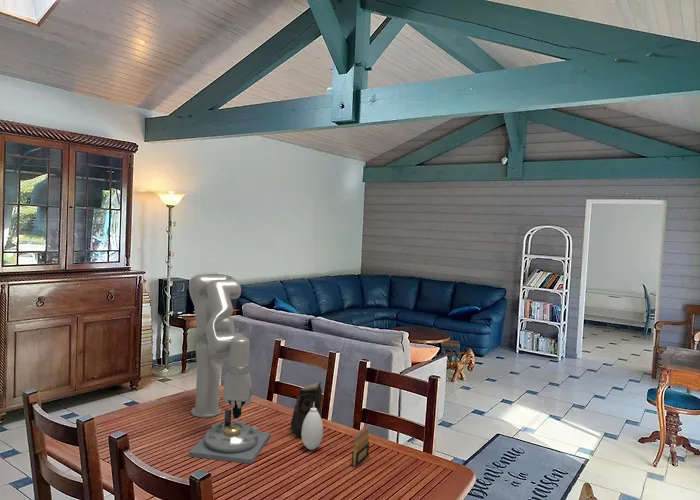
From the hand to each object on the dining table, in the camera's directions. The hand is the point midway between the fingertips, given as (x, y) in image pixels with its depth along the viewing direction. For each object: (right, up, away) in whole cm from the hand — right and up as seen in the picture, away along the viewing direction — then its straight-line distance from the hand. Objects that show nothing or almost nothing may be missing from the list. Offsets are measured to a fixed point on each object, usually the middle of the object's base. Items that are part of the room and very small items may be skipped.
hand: (236, 417), depth 192 cm
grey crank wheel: (0, -7, -6) cm, 9 cm away
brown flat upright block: (+47, -12, -12) cm, 50 cm away
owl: (+25, -10, +11) cm, 29 cm away
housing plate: (0, -9, -6) cm, 11 cm away
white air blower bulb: (+29, -11, -4) cm, 31 cm away
